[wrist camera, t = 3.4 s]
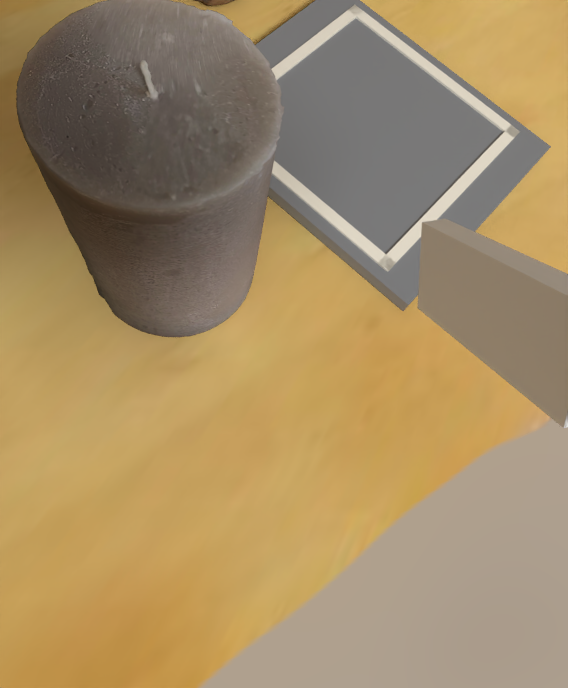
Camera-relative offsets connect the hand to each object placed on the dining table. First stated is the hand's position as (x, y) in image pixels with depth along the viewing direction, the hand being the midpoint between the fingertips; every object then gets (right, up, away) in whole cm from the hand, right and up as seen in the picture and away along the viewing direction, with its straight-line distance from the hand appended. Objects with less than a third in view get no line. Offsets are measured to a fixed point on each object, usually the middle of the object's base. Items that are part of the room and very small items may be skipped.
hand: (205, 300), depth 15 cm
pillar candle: (-4, +4, +18) cm, 19 cm away
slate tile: (+8, +13, +22) cm, 27 cm away
